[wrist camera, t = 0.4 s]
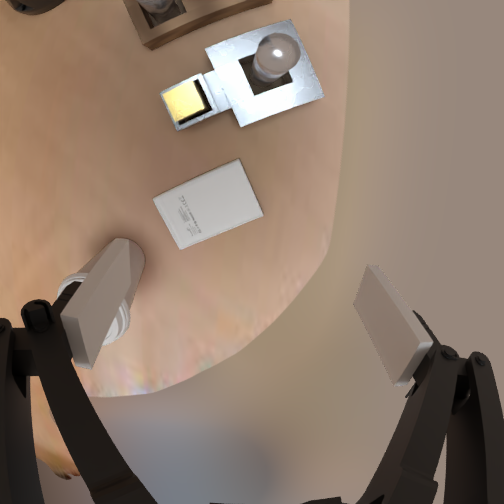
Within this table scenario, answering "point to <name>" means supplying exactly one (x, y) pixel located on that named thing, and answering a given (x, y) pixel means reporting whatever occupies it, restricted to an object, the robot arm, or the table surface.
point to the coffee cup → (123, 314)
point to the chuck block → (237, 87)
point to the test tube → (161, 9)
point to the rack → (185, 18)
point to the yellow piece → (185, 101)
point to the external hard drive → (209, 204)
